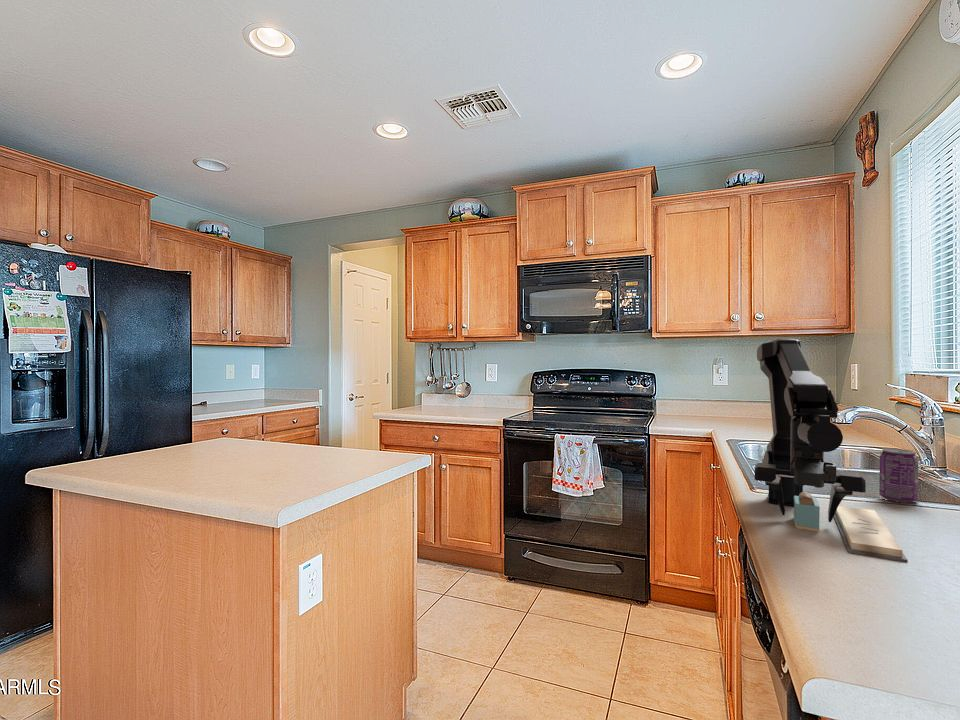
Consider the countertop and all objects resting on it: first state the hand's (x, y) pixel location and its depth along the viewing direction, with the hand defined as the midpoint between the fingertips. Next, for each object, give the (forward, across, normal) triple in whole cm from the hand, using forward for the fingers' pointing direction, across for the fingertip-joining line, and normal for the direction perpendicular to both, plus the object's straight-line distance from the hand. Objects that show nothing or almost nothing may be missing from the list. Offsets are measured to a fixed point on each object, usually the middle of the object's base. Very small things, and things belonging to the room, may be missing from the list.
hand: (806, 518), depth 101 cm
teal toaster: (+1, 0, 0) cm, 1 cm away
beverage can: (+2, +20, +32) cm, 38 cm away
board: (+1, +10, 0) cm, 10 cm away
